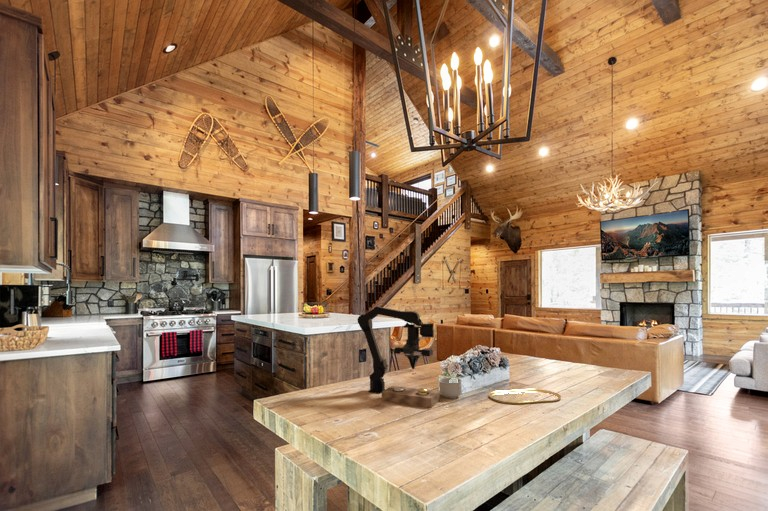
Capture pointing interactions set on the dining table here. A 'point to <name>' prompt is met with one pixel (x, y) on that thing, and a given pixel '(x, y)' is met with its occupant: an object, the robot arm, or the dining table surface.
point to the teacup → (450, 387)
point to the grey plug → (399, 389)
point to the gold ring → (523, 391)
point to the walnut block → (411, 397)
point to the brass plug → (422, 391)
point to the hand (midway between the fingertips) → (413, 368)
